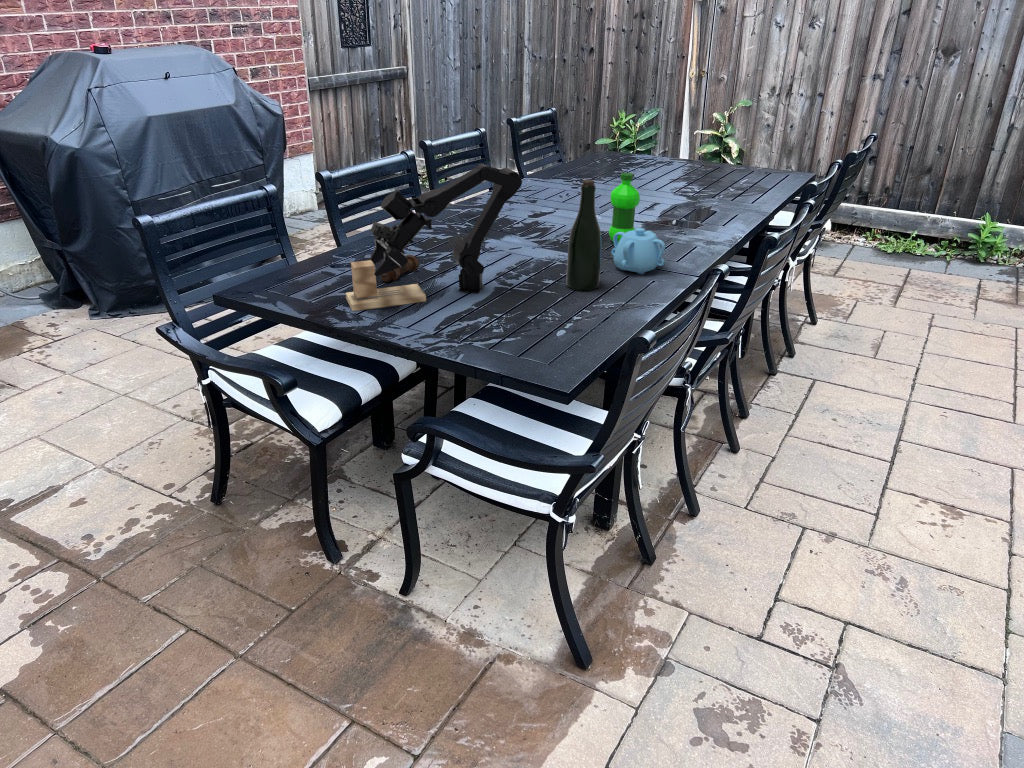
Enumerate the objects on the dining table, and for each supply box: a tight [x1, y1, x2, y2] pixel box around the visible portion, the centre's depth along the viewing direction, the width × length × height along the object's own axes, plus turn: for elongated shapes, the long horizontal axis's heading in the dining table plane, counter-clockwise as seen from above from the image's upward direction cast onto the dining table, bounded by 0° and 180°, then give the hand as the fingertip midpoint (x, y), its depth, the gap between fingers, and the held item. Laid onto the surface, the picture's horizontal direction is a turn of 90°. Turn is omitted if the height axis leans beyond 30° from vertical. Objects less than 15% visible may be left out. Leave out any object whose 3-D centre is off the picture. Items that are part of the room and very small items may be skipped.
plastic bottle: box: [608, 172, 641, 243], centre depth 267 cm, size 10×10×25 cm
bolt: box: [380, 254, 420, 283], centre depth 239 cm, size 6×5×15 cm
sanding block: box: [350, 259, 378, 301], centre depth 217 cm, size 6×5×10 cm
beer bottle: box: [565, 179, 602, 292], centre depth 227 cm, size 10×10×33 cm
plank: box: [345, 283, 427, 312], centre depth 222 cm, size 22×10×2 cm, turn 111°
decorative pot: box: [610, 227, 666, 275], centre depth 246 cm, size 16×16×14 cm
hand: (372, 270), depth 216 cm, fingers open, 9 cm apart
